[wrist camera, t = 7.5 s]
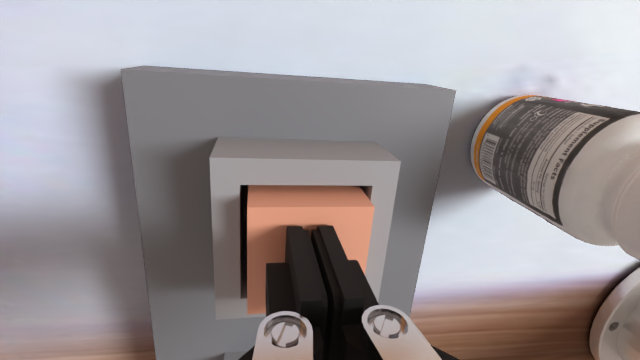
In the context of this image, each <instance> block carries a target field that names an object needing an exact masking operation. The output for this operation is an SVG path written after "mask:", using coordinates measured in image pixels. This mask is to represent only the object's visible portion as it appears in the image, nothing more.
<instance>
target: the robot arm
mask: <svg viewBox="0 0 640 360" xmlns="http://www.w3.org/2000/svg"><path fill="white" fill-rule="evenodd" d="M265 294H266V318H265V319H264V320H263V321H262V322H261V323H260V326H259V328H258V332H257V337H256V342H255V346H253V347H252V348H251V349H250V350H249V351H248V352H246V353H245V354H244V355H243V356H242V357H241V358H239V359H238V360H459V359H457V358H455V357H453V356H451V355H449V354H447V353H445V352H443V351H441V350H439V349H437V348H435V347H433V346H432V345H430V344H429V342H428V341H427V340H426V339H425V337H424V336H423V335H422V333H421V332H420V331H419V329H418V328H417V327H416V326H415V324H414V323H413V322H412V320H411V319H410V318H409V317H408V316H407V315H406V314H405V313H404V312H402V311H400V310H399V309H397V308H394V307H391V306H386V305H379V304H378V302H377V300H376V297H375V295H374V293H373V291H372V289H371V287H370V285H369V283H368V281H367V279H366V277H365V275H364V273H363V271H362V268H361V266H360V264H359V262H358V261H357V260H348V259H347V256H346V254H345V252H344V249H343V247H342V245H341V243H340V240H339V238H338V236H337V233H336V231H335V229H334V227H333V226H332V225H329V226H317V230H312V232H311V238H310V235H309V231H308V230H303V227H302V226H287V228H286V248H285V262H283V263H266V290H265ZM589 344H590V349H591V353H592V355H593V357H594V359H595V360H640V267H639V268H638V269H636V270H635V271H633V272H632V273H631V274H629V275H628V276H627V277H626V278H625V279H624V280H623V281H622V282H620V283H619V284H618V285H617V286H616V287H615V289H614V290H613V291H612V292H611V293H610V294H609V295H608V297H607V298H606V300H605V301H604V302H603V304H602V305H601V307H600V308H599V310H598V312H597V314H596V316H595V318H594V321H593V324H592V327H591V331H590V341H589Z"/></svg>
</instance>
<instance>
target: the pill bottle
mask: <svg viewBox="0 0 640 360" xmlns="http://www.w3.org/2000/svg"><path fill="white" fill-rule="evenodd" d="M471 162H472V165H473V168H474V171H475V172H476V174H477V176H478V177H479V178H480V179H481V180H482V181H483V182H484V183H486V184H487V185H489V186H490V187H492V188H493V189H495V190H496V191H498V192H500V193H501V194H503V195H505V196H506V197H508V198H509V199H511V200H512V201H514V202H516V203H518V204H520V205H521V206H523V207H525V208H526V209H528V210H530V211H532V212H533V213H535V214H536V215H538V216H540V217H542V218H544V219H545V220H546V221H547V222H549V223H551V224H553V225H554V226H556V227H558V228H560V229H561V230H563V231H564V232H566V233H568V234H570V235H571V236H573V237H575V238H576V239H579V240H581V241H584V242H586V243H590V244H594V245H600V246H616V245H620V247H621V248H622V249H623V250H624V251H625V252H626V253H627V254H629V255H631V256H633V257H635V258H636V259H638V260H640V112H637V111H630V110H624V109H618V108H612V107H607V106H601V105H593V104H587V103H580V102H575V101H569V100H562V99H556V98H550V97H543V96H535V95H520V96H515V97H512V98H509V99H507V100H505V101H503V102H501V103H499V104H498V105H497V106H495V107H494V108H493V109H491V110H490V111H489V112H488V113H487V114H486V115H485V116H484V117H483V119H482V120H481V122H480V123H479V125H478V127H477V129H476V131H475V133H474V136H473V139H472V144H471Z"/></svg>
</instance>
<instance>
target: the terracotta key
mask: <svg viewBox="0 0 640 360" xmlns="http://www.w3.org/2000/svg"><path fill="white" fill-rule="evenodd" d="M374 208H375V207H374V205H373V204H372V202H371V201H370V200H369V198H368V197H367V196H366V194H365V193H364V192H363V190H362V189H361V188H360V186H343V185H249V186H248V203H247V314H262V313H266V294H265V290H266V263H283V262H285V248H286V228H287V226H302V227H303V230H308V231H309V235H310V238H311V232H312V230H317V226H329V225H332V226H333V227H334V229H335V231H336V233H337V236H338V238H339V240H340V243H341V245H342V247H343V249H344V252H345V254H346V256H347V259H348V260H357V261H358V262H359V264H360V266H361V268H362V271H363V273H364V275H365V271H366V264H367V257H368V250H369V243H370V236H371V229H372V222H373V215H374Z"/></svg>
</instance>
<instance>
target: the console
mask: <svg viewBox="0 0 640 360" xmlns="http://www.w3.org/2000/svg"><path fill="white" fill-rule="evenodd" d="M121 76H122V84H123V92H124V101H125V109H126V117H127V125H128V133H129V142H130V150H131V158H132V166H133V174H134V183H135V191H136V199H137V207H138V216H139V224H140V232H141V240H142V248H143V257H144V265H145V273H146V281H147V290H148V298H149V306H150V314H151V322H152V331H153V339H154V347H155V355H156V360H238V359H239V358H241V357H242V356H243V355H244V354H245V353H246V352H248V351H249V350H250V349H251V348H252V347H253V346H255V342H256V337H257V332H258V328H259V326H260V323H261V322H262V321H263V320H264V319H265V318H266V313H262V314H247V203H248V186H249V185H343V186H360V188H361V189H362V190H363V192H364V193H365V194H366V196H367V197H368V198H369V200H370V201H371V202H372V204H373V205H374V207H375V208H374V215H373V222H372V229H371V236H370V243H369V250H368V257H367V264H366V271H365V277H366V279H367V281H368V283H369V285H370V287H371V289H372V291H373V293H374V295H375V297H376V300H377V302H378V304H379V305H386V306H391V307H394V308H397V309H399V310H400V311H402V312H404V313H405V314H406V315H407V316H408V317H410V312H411V307H412V302H413V297H414V293H415V288H416V283H417V278H418V273H419V268H420V263H421V258H422V254H423V249H424V244H425V239H426V234H427V229H428V224H429V220H430V215H431V210H432V205H433V200H434V195H435V190H436V186H437V181H438V176H439V171H440V166H441V161H442V156H443V152H444V147H445V142H446V137H447V132H448V127H449V122H450V118H451V113H452V108H453V103H454V98H455V93H456V90H451V89H446V88H442V87H437V86H432V85H427V84H414V83H399V82H384V81H369V80H354V79H339V78H323V77H308V76H293V75H278V74H263V73H247V72H232V71H217V70H202V69H187V68H171V67H156V66H139V67H133V68H126V69H121Z"/></svg>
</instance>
